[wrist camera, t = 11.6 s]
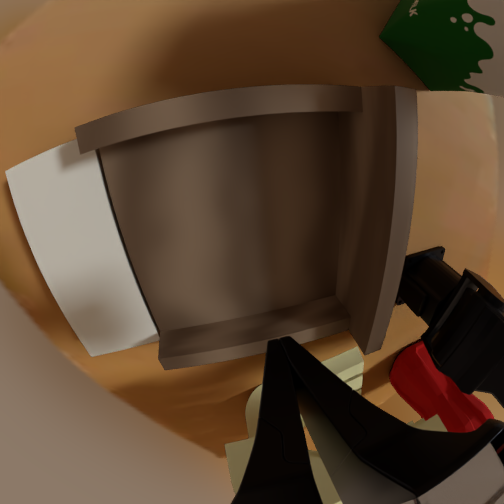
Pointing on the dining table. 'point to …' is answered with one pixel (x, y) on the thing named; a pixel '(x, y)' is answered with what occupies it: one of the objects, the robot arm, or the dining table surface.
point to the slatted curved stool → (347, 370)
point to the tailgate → (82, 248)
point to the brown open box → (263, 212)
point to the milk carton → (451, 43)
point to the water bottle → (435, 392)
